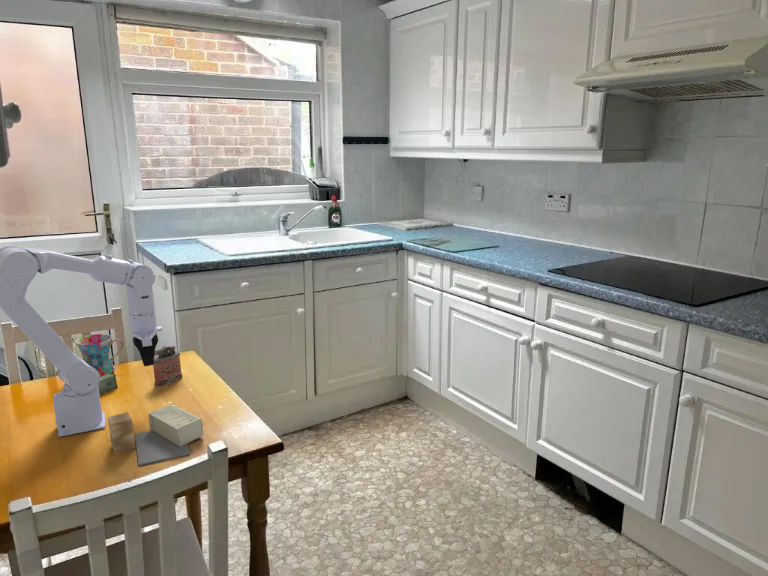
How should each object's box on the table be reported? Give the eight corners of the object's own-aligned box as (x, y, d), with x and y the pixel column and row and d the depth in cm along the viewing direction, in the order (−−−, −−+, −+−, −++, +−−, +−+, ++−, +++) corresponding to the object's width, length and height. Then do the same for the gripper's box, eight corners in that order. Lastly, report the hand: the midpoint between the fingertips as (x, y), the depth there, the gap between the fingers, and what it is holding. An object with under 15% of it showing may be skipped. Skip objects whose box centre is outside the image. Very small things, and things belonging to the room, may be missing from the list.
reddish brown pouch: (177, 374, 161) (174, 341, 159) (185, 377, 160) (181, 343, 157) (152, 384, 155) (147, 349, 153) (159, 387, 153) (155, 352, 151)
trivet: (138, 466, 116) (138, 464, 116) (135, 435, 128) (134, 433, 128) (190, 454, 120) (189, 452, 120) (181, 425, 132) (181, 424, 132)
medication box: (112, 386, 155) (110, 372, 154) (118, 388, 153) (116, 374, 152) (68, 403, 145) (65, 388, 144) (74, 405, 144) (71, 390, 143)
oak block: (115, 454, 121) (111, 424, 119) (111, 446, 124) (107, 417, 122) (135, 448, 123) (131, 419, 121) (131, 440, 126) (127, 412, 124)
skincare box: (149, 429, 130) (178, 448, 122) (147, 412, 129) (176, 429, 121) (174, 419, 135) (204, 436, 127) (173, 402, 133) (202, 418, 126)
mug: (84, 384, 156) (79, 347, 153) (77, 373, 163) (72, 338, 160) (130, 373, 163) (126, 337, 160) (122, 363, 170) (117, 329, 167)
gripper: (162, 317, 133) (168, 372, 137) (157, 302, 146) (162, 352, 149) (130, 322, 130) (136, 377, 134) (127, 306, 143) (133, 357, 146)
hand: (148, 364), depth 141 cm, fingers closed
